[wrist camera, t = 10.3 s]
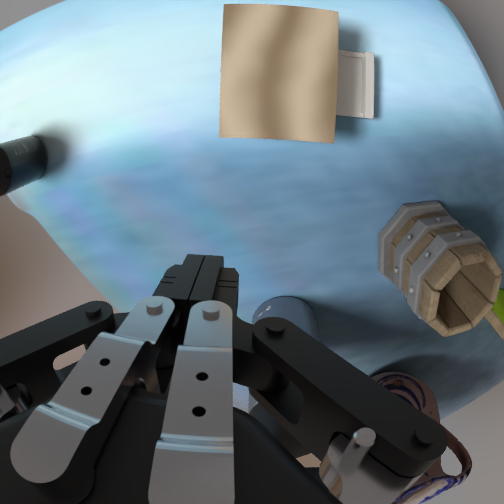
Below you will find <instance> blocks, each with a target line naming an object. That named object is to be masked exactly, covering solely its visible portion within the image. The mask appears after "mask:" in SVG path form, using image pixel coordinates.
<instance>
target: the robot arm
mask: <svg viewBox="0 0 504 504" xmlns="http://www.w3.org/2000/svg"><path fill="white" fill-rule="evenodd" d="M238 285H239V274H238V272H237V271H236V269H235V268H224V258H223V256H212V255H206V256H205V255H195V254H188V255H187V256H186V258H185V260H184V262H183V264H182V265H173V266H172V267H170V268H169V269H167V271H166V272H165V274H164V276H163V278H162V279H161V281H160V283H159V285H158V286H157V288H156V290H155V292H154V294H153V295H152V296H151V297H147V298H144V299H142V300H140V301H139V302H138V303H137V304H136V305H135V306H134V308H133V309H132V310H131V312H128V313H117V314H114V313H113V309H112V306H111V305H110V304H109V303H107V302H104V301H92V302H88V303H86V304H83V305H80V306H78V307H76V308H73V309H71V310H68V311H66V312H63V313H61V314H59V315H56V316H54V317H52V318H49V319H47V320H44V321H42V322H39V323H37V324H35V325H32V326H30V327H28V328H25V329H23V330H21V331H18V332H16V333H13V334H11V335H9V336H6V337H4V338H2V339H0V504H392V502H393V501H394V500H396V499H397V498H398V497H399V496H400V495H402V494H403V493H404V492H405V491H406V490H407V489H408V488H409V487H410V486H411V485H412V484H413V483H415V482H416V481H417V480H418V479H419V478H420V477H421V476H422V475H423V474H424V473H425V472H426V471H427V470H428V469H429V468H430V467H431V466H432V465H433V464H434V462H435V461H436V460H437V459H438V458H439V457H440V456H441V455H442V454H443V452H444V451H445V450H446V447H447V443H448V439H447V434H446V432H445V430H444V428H443V427H442V426H441V425H440V424H439V423H438V422H437V421H435V420H434V419H432V418H430V417H429V416H427V415H426V414H424V413H423V412H421V411H420V410H418V409H417V408H415V407H414V406H412V405H411V404H409V403H408V402H406V401H405V400H403V399H402V398H400V397H399V396H397V395H396V394H394V393H393V392H391V391H390V390H388V389H387V388H385V387H384V386H382V385H381V384H379V383H378V382H376V381H375V380H373V379H372V378H370V377H369V376H368V375H366V374H365V373H363V372H362V371H360V370H359V369H357V368H356V367H354V366H353V365H352V364H350V363H349V362H347V361H346V360H344V359H343V358H341V357H340V356H339V355H337V354H336V353H334V352H333V351H331V350H330V349H329V348H327V347H326V346H324V345H323V344H322V343H320V339H319V334H318V329H317V325H316V321H315V316H314V313H313V311H312V309H311V307H310V306H309V305H308V304H307V303H305V302H304V301H302V300H300V299H298V298H294V297H276V298H273V299H270V300H268V301H266V302H264V303H263V304H262V305H261V306H259V308H258V309H257V310H256V311H255V314H254V316H253V320H252V324H250V323H247V322H244V321H242V320H241V319H240V318H238V317H237V308H238ZM82 344H84V346H85V349H86V352H85V353H84V355H83V356H82V358H81V359H80V360H79V361H77V362H75V363H73V364H71V365H69V366H67V367H64V368H62V369H60V370H54V368H53V361H54V359H55V358H56V357H57V356H59V355H61V354H63V353H65V352H67V351H69V350H72V349H74V348H75V347H78V346H80V345H82ZM233 382H234V383H237V384H240V385H243V386H247V387H249V408H248V413H246V412H244V411H242V410H240V409H238V408H235V407H233ZM310 453H312V454H314V455H315V456H316V457H317V458H318V459H319V460H320V461H321V464H320V467H316V468H315V467H310V468H305V467H304V466H303V465H302V464H301V463H300V462H298V461H297V460H296V458H298V457H301V456H304V455H307V454H310Z"/></svg>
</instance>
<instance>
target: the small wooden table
mask: <svg viewBox="0 0 504 504" xmlns="http://www.w3.org/2000/svg"><path fill="white" fill-rule="evenodd" d="M338 32H339V24H338V12H337V11H331V10H324V9H316V8H308V7H298V6H286V5H268V4H224V12H223V32H222V55H221V84H220V125H219V137H226V138H264V139H284V140H299V141H312V142H324V143H334V137H335V122H336V104H337V81H338Z"/></svg>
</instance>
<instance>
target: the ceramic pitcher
mask: <svg viewBox="0 0 504 504" xmlns="http://www.w3.org/2000/svg"><path fill="white" fill-rule="evenodd" d="M372 379H373V380H375V381H376V382H378V383H379V384H381V385H382V386H384V387H385V388H387V389H388V390H390V391H391V392H393V393H394V394H396V395H397V396H399V397H400V398H402V399H403V400H405V401H406V402H408V403H409V404H411V405H412V406H414V407H415V408H417V409H418V410H420V411H421V412H423V413H424V414H426V415H427V416H429V417H430V418H432V419H434V420H435V421H437V422H438V423H439V424H440V417H439V411H438V406H437V403H436V399H435V397H434V394H433V392H432V391H431V390H430V388H429V387H428V386H427V385H426V384H425V383H424V382H422V381H421V380H419V379H417V378H416V377H414V376H411V375H408V374H406V373H401V372H385V373H381V374H379V375H376V376H374V377H372ZM440 425H441V424H440ZM441 426H442V425H441ZM442 427H443V426H442ZM443 428H444V430H445V432H446V434H447V439H448V443H447V446H448V447H449V448H450V449H451V450H452V451H453V452H454V454H455V455H456V456H457V458H458V459H459V461H460V462H461V464H462V472H461V474H459V475H458V476H450V475H447V474H445V473H444V472H443V470H442V467H441V456H440V457H439V458H438V459H437V460H436V461H435V462H434V464H433V465H432V466H431V467H430V468H429V469H428V470H427V471H426V472H425V473H424V474H423V475H422V476H421V477H420V478H419V479H418V480H417V481H416V482H415V483H413V484H412V485H411V486H410V487H409V488H408V489H407V490H406V491H405V492H404V493H403V494H402V495H400V496H399V497H398V498H397V499H396V500H394V501H393V502H392V504H421V503H423V502H425V501H427V500H429V499H432V498H433V497H435V496H437V495H438V494H440V493H441V492H443V491H445V490H448V489H449V488H451V487H455V486H456V485H459V484H461V483H462V482H463V481H464V480H465V479H466V478H467V477H468V475H469V473H470V471H471V468H472V461H471V458H470V455H469V453H468V452H467V450H466V449H465V448H464V446H463V445H462V443H460V442H459V441H458V439H457V438H456V437H455V436H453V435H452V434H451V433H450V432H449V431H448V430H447V429H446V428H445V427H443Z"/></svg>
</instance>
